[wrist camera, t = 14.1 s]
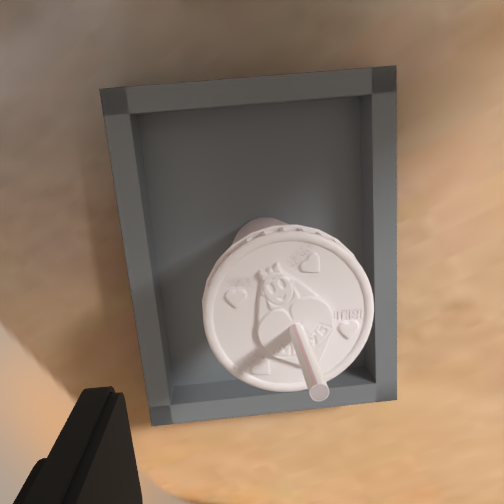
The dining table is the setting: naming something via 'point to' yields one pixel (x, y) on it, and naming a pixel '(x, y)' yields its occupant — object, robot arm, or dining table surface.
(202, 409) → the tray
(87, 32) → the dining table surface
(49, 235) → the dining table surface
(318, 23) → the dining table surface
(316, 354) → the smoothie
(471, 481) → the dining table surface
